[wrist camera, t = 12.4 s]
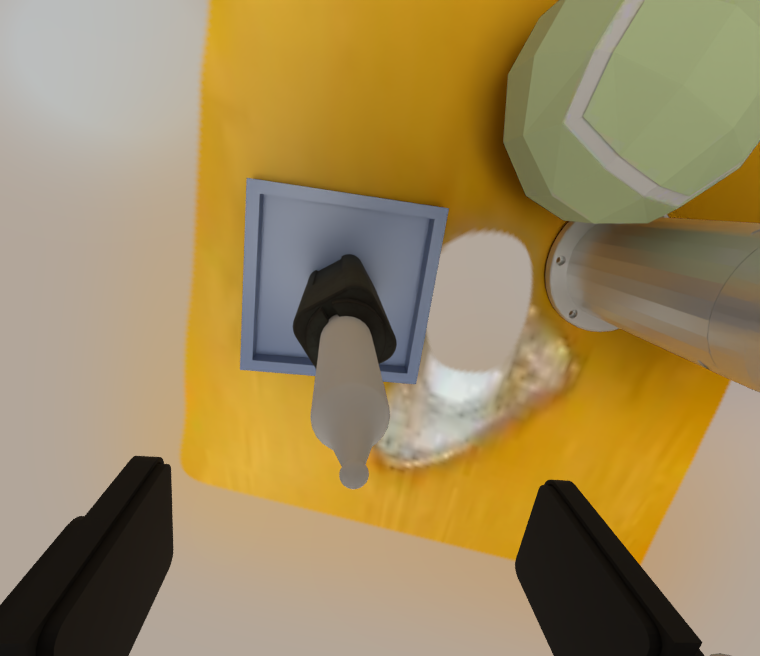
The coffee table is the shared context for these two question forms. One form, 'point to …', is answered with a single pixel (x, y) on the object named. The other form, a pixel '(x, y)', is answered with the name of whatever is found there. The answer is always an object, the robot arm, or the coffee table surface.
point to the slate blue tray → (324, 247)
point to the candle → (346, 362)
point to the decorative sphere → (633, 105)
